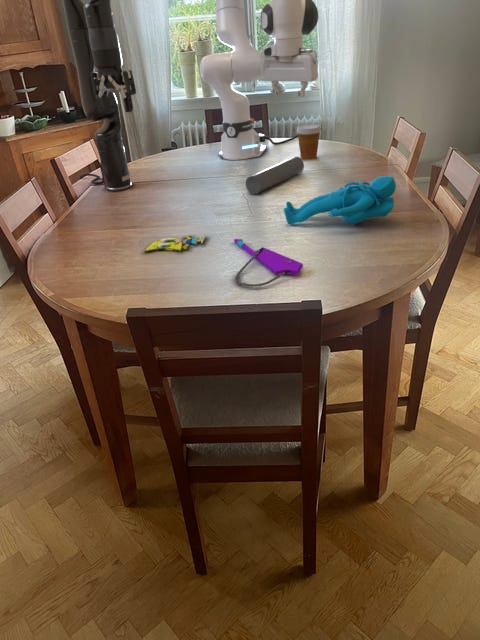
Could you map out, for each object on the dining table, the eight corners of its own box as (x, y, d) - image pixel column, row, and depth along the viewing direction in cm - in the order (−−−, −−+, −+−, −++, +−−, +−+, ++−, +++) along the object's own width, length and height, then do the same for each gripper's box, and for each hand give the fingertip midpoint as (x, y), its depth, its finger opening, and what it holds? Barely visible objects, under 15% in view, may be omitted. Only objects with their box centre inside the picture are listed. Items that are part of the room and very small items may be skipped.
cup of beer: (293, 160, 191) (293, 129, 184) (300, 154, 198) (300, 123, 192) (317, 161, 188) (317, 129, 181) (323, 154, 195) (323, 123, 188)
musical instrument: (279, 298, 104) (317, 250, 116) (277, 290, 102) (316, 243, 115) (192, 283, 116) (235, 241, 129) (190, 275, 115) (233, 234, 127)
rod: (260, 195, 159) (259, 177, 156) (246, 192, 163) (245, 174, 159) (304, 174, 175) (304, 157, 172) (290, 172, 179) (290, 155, 175)
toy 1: (199, 248, 125) (143, 249, 127) (199, 251, 125) (144, 252, 127) (206, 233, 133) (154, 234, 135) (206, 236, 133) (154, 237, 136)
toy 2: (287, 190, 142) (392, 164, 131) (296, 223, 147) (398, 200, 137) (279, 211, 128) (395, 184, 118) (289, 247, 133) (402, 223, 123)
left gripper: (134, 44, 128) (145, 109, 137) (96, 46, 135) (109, 108, 143) (114, 47, 123) (127, 114, 131) (76, 49, 129) (91, 113, 138)
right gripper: (322, 46, 148) (321, 95, 156) (269, 48, 160) (271, 93, 168) (311, 49, 144) (310, 98, 152) (257, 50, 156) (260, 96, 164)
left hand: (118, 111), depth 137 cm, fingers open, 8 cm apart
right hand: (289, 96), depth 160 cm, fingers open, 8 cm apart
